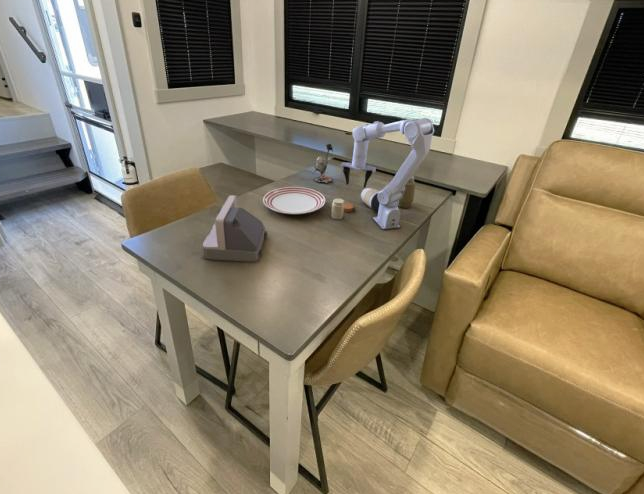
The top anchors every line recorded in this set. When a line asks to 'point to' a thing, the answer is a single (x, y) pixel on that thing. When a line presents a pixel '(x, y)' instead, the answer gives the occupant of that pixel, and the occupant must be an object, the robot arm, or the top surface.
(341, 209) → the jar
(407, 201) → the squeeze bottle
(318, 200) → the dinner plate
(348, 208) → the lid
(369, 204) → the coffee cup
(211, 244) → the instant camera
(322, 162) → the plant with pod
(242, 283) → the top surface
